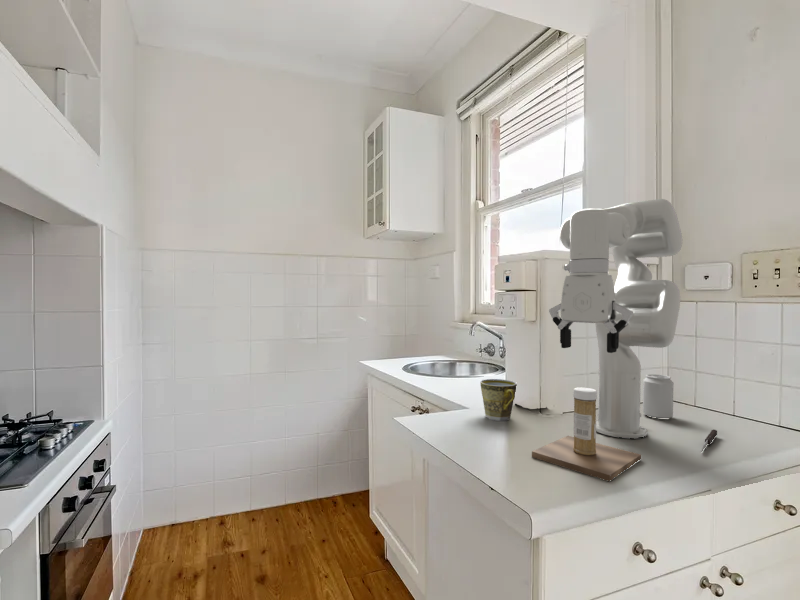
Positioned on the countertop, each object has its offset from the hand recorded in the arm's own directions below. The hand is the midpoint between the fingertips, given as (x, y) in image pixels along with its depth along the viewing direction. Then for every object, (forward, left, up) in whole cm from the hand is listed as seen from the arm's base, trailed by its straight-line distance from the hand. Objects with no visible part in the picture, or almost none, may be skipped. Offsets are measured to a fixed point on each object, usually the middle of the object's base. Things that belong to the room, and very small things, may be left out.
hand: (588, 349), depth 90 cm
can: (-48, -1, -23) cm, 53 cm away
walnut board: (0, 0, -23) cm, 23 cm away
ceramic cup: (-11, -29, -23) cm, 39 cm away
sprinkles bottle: (0, 0, -22) cm, 22 cm away
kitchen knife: (-30, +15, -23) cm, 41 cm away
